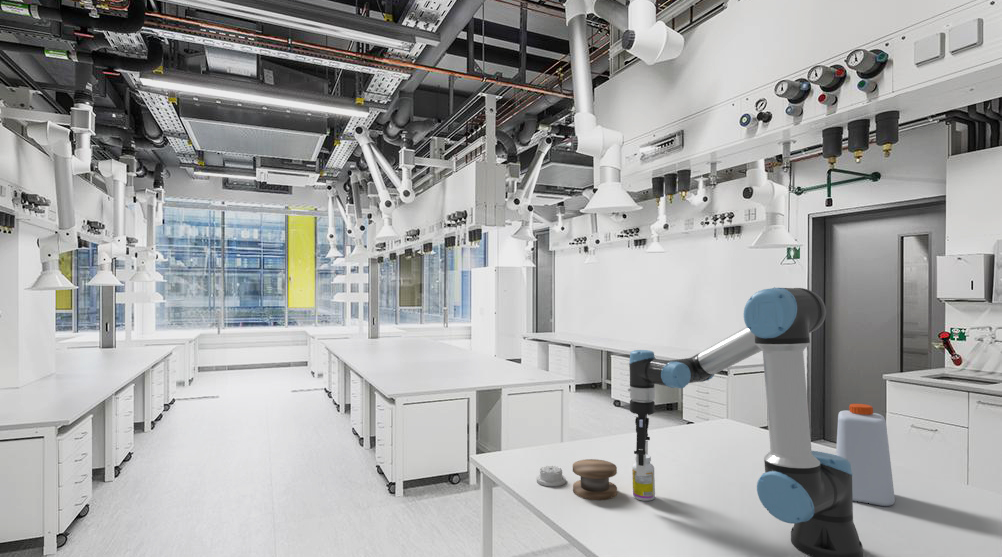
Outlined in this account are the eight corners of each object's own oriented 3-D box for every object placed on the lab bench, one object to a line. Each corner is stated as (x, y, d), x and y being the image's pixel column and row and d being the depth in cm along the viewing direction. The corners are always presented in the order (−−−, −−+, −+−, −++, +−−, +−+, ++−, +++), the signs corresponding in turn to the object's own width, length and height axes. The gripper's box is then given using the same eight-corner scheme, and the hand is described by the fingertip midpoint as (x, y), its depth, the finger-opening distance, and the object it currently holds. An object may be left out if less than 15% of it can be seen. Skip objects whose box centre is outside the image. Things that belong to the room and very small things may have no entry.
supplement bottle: (638, 491, 164) (637, 451, 164) (658, 496, 160) (657, 455, 160) (629, 498, 159) (628, 456, 159) (649, 503, 155) (648, 460, 155)
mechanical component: (543, 475, 181) (531, 484, 172) (543, 462, 181) (531, 471, 172) (570, 479, 176) (559, 489, 167) (569, 466, 176) (559, 475, 167)
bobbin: (624, 497, 159) (624, 471, 159) (581, 501, 156) (581, 475, 157) (606, 481, 173) (606, 457, 173) (567, 485, 170) (566, 460, 170)
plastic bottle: (892, 493, 161) (889, 403, 162) (896, 510, 149) (893, 413, 149) (835, 483, 170) (832, 398, 170) (834, 498, 157) (831, 407, 158)
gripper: (632, 391, 173) (632, 454, 173) (626, 407, 150) (626, 480, 149) (655, 392, 171) (656, 456, 171) (653, 409, 147) (653, 483, 147)
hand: (642, 468), depth 160 cm, fingers open, 13 cm apart
